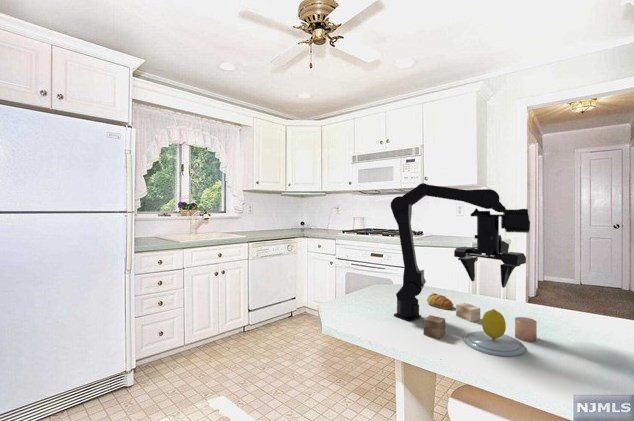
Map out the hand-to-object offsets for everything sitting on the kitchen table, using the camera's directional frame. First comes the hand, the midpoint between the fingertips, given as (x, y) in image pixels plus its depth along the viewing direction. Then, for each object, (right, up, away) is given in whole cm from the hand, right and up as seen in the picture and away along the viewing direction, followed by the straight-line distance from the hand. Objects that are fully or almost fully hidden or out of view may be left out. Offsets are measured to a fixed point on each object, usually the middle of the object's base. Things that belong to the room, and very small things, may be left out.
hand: (487, 284), depth 97 cm
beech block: (-2, -13, +9) cm, 16 cm away
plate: (-4, -13, -11) cm, 18 cm away
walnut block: (-17, -13, -4) cm, 22 cm away
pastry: (-6, -13, +22) cm, 26 cm away
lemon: (-4, -12, -11) cm, 17 cm away
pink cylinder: (+6, -13, -7) cm, 17 cm away
